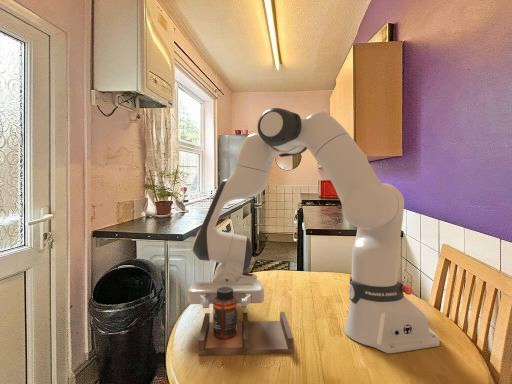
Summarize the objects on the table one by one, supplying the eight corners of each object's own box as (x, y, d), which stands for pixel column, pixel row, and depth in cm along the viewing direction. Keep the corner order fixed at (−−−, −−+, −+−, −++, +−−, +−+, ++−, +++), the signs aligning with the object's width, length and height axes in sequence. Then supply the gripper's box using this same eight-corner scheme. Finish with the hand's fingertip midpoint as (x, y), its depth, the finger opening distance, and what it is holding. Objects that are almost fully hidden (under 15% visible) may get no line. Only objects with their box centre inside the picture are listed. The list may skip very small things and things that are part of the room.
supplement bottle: (241, 331, 78) (241, 287, 78) (227, 342, 73) (228, 295, 73) (222, 326, 81) (222, 283, 81) (208, 336, 76) (208, 290, 76)
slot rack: (284, 324, 85) (284, 311, 85) (293, 353, 71) (293, 338, 71) (205, 325, 84) (205, 313, 84) (198, 355, 70) (198, 340, 70)
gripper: (191, 275, 89) (182, 293, 75) (261, 274, 90) (265, 291, 76) (191, 296, 89) (182, 318, 76) (261, 295, 90) (265, 316, 77)
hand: (225, 304), depth 76 cm, fingers open, 8 cm apart
